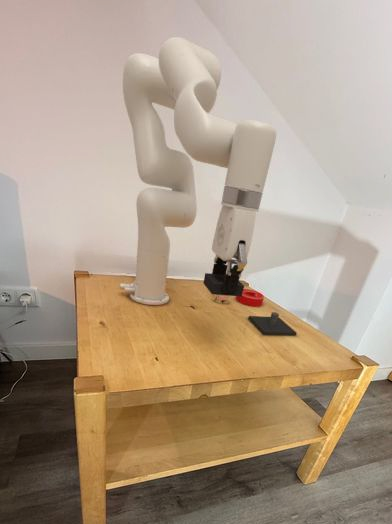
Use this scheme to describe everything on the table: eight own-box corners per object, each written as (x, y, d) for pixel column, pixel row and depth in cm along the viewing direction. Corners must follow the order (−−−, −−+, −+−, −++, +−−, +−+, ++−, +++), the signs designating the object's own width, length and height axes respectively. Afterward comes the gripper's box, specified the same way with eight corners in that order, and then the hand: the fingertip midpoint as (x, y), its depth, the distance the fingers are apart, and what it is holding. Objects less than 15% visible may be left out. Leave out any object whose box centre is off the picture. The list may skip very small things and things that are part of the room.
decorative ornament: (232, 295, 112) (234, 287, 111) (256, 297, 115) (258, 289, 113) (240, 305, 104) (243, 296, 103) (265, 307, 107) (268, 299, 105)
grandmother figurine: (228, 299, 107) (235, 264, 101) (232, 304, 104) (241, 268, 98) (208, 299, 104) (215, 263, 98) (212, 303, 101) (220, 266, 95)
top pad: (211, 294, 63) (214, 283, 62) (203, 283, 69) (205, 272, 68) (241, 296, 65) (244, 285, 64) (230, 285, 71) (233, 275, 70)
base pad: (263, 335, 86) (267, 321, 83) (247, 318, 95) (251, 305, 92) (295, 335, 89) (300, 322, 87) (277, 319, 98) (281, 307, 96)
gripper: (210, 193, 64) (197, 273, 73) (239, 201, 50) (218, 300, 59) (242, 198, 66) (225, 276, 75) (278, 208, 52) (253, 303, 61)
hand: (222, 286), depth 67 cm, fingers closed on top pad, 7 cm apart
